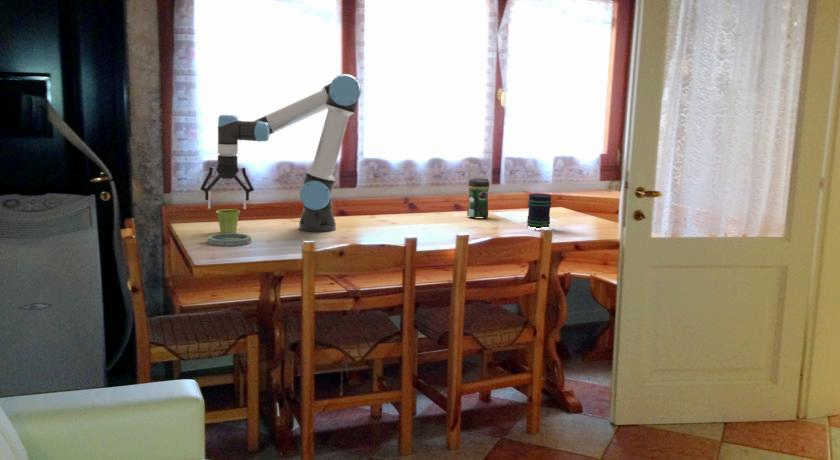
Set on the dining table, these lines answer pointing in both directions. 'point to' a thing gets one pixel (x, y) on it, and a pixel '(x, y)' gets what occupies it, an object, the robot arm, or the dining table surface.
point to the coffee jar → (478, 197)
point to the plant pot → (228, 220)
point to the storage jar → (539, 210)
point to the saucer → (229, 239)
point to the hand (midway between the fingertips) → (227, 208)
